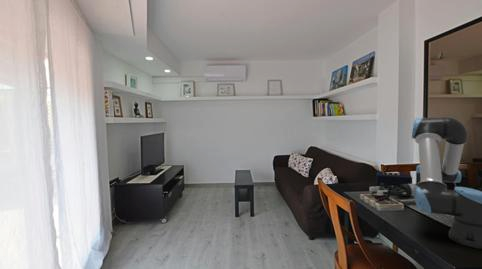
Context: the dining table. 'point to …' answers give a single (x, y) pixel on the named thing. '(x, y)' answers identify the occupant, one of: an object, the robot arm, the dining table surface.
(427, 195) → the robot arm
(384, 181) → the speaker
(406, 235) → the dining table surface
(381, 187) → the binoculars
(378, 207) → the tray
